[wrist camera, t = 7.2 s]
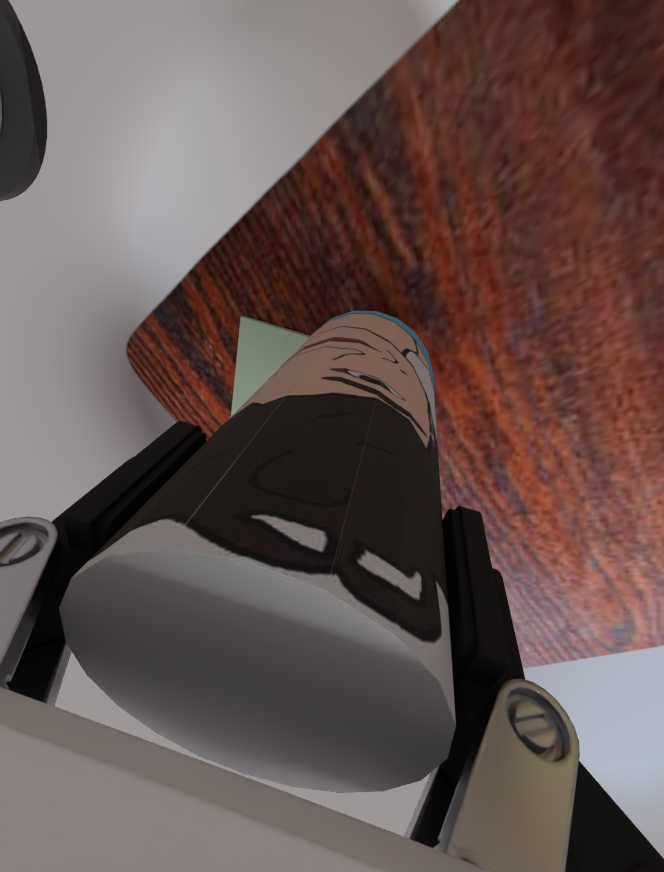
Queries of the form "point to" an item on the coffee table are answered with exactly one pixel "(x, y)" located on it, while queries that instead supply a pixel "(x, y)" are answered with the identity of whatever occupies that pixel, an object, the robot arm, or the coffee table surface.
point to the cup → (291, 578)
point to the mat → (260, 355)
